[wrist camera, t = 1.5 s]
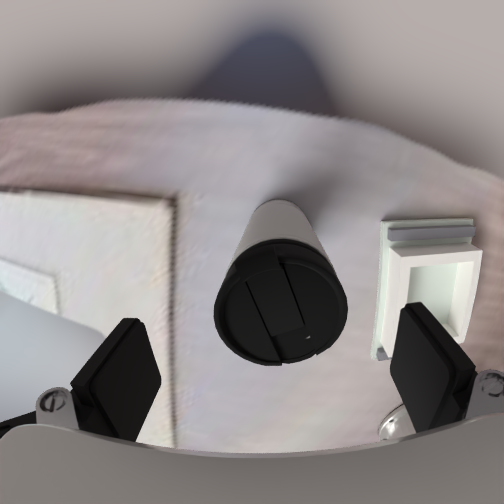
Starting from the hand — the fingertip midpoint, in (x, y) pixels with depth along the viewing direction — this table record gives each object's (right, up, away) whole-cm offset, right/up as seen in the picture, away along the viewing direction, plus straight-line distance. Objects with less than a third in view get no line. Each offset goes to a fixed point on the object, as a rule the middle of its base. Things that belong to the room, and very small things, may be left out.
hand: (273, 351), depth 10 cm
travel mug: (+2, +6, +22) cm, 23 cm away
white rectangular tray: (+21, -1, +22) cm, 31 cm away
